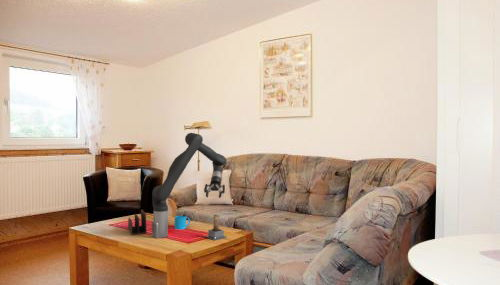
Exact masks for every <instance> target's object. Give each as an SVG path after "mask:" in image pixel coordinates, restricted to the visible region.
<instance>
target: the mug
mask: <svg viewBox="0 0 500 285" xmlns="http://www.w3.org/2000/svg"><path fill="white" fill-rule="evenodd" d="M187 219H188V223H187ZM190 223H191V219H190V218H189V217H187V216H186V215H176V216H174V229H175V230H185V229H186V228H187V227H188V226H189V225H190Z"/></svg>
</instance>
